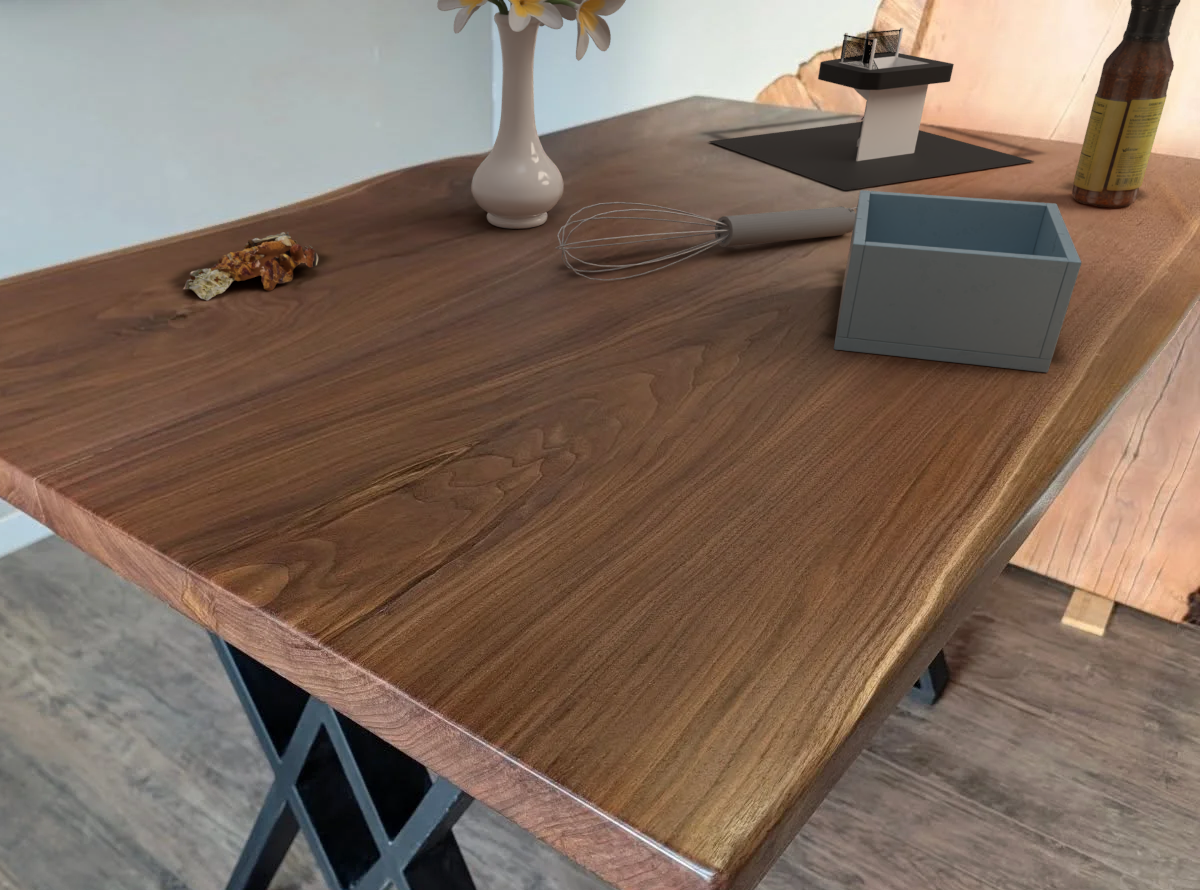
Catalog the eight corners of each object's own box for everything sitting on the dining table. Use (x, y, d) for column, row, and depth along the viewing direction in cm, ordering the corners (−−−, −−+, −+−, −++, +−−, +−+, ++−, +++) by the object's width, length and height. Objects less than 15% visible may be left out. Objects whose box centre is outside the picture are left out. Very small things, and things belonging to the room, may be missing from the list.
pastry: (171, 289, 91) (164, 248, 89) (281, 255, 98) (276, 217, 96) (218, 308, 87) (212, 265, 85) (329, 271, 94) (325, 232, 92)
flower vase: (581, 251, 98) (593, -54, 84) (414, 225, 106) (400, -59, 92) (632, 215, 108) (651, -65, 94) (476, 194, 115) (472, -68, 101)
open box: (1028, 302, 85) (1056, 203, 81) (1047, 373, 74) (1081, 262, 70) (842, 285, 89) (860, 189, 85) (833, 349, 78) (853, 243, 74)
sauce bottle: (1137, 198, 110) (1207, -15, 99) (1131, 213, 106) (1203, -8, 95) (1069, 190, 113) (1129, -17, 102) (1061, 204, 109) (1122, -11, 98)
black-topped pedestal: (879, 120, 143) (899, 12, 136) (1034, 162, 123) (1068, 38, 116) (707, 142, 134) (719, 27, 127) (845, 191, 114) (868, 58, 107)
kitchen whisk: (885, 239, 100) (898, 171, 96) (576, 298, 88) (578, 223, 85) (841, 222, 104) (852, 157, 101) (542, 277, 93) (543, 205, 89)
